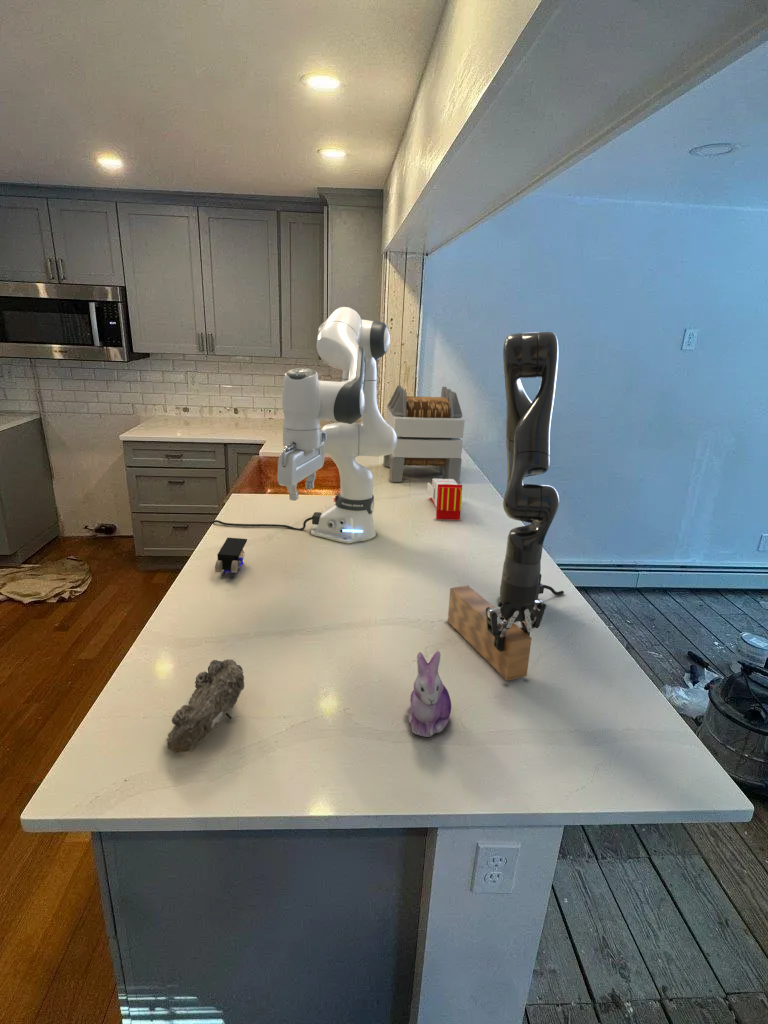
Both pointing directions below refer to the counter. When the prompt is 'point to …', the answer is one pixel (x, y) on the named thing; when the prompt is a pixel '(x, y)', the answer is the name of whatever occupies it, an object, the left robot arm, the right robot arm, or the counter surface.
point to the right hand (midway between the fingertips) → (510, 646)
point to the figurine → (429, 699)
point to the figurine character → (230, 556)
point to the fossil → (206, 705)
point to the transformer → (425, 433)
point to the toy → (446, 498)
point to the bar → (488, 633)
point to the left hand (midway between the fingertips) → (302, 494)
